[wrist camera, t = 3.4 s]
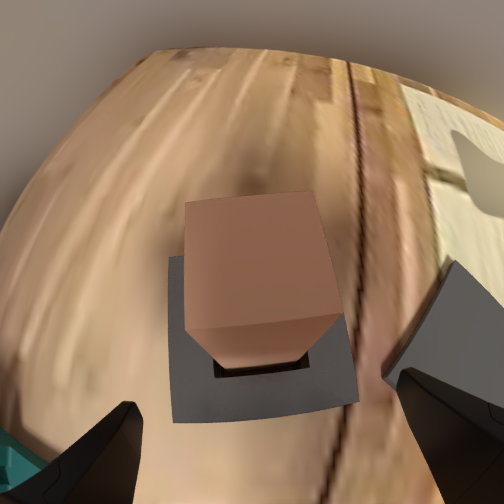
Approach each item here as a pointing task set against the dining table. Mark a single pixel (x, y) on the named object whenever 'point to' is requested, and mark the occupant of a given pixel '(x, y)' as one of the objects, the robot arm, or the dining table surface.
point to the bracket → (16, 462)
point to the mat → (459, 339)
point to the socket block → (255, 386)
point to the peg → (257, 279)
